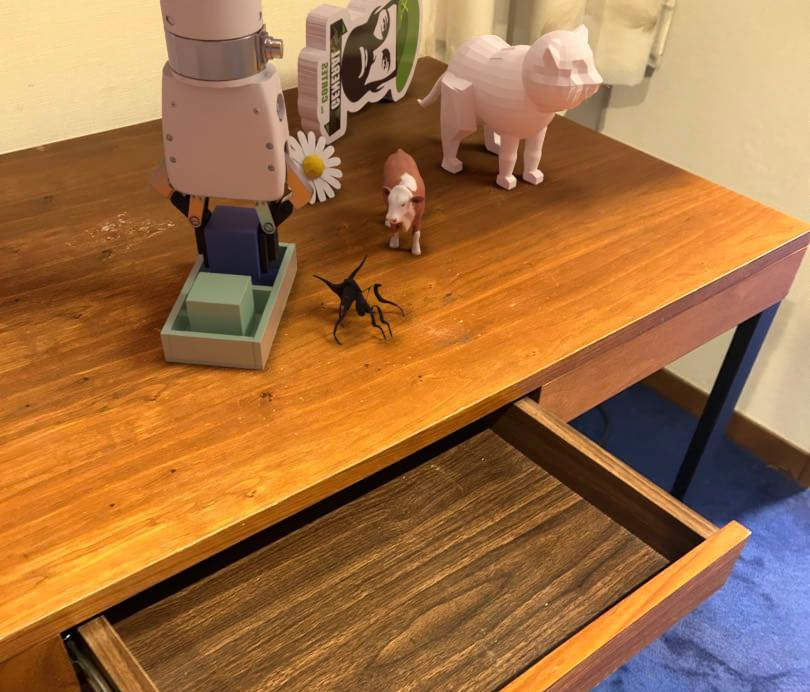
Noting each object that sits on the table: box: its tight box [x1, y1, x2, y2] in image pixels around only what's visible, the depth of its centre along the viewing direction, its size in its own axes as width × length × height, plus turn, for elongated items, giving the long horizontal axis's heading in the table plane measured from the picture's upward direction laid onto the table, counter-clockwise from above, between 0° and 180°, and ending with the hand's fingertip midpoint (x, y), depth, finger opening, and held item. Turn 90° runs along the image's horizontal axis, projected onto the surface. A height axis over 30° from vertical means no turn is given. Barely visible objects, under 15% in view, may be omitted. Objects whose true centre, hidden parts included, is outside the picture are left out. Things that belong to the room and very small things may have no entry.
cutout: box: [296, 0, 424, 146], centre depth 106 cm, size 15×3×25 cm
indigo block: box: [204, 204, 262, 280], centre depth 79 cm, size 5×5×5 cm
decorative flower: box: [287, 130, 343, 205], centre depth 95 cm, size 8×6×15 cm
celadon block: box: [186, 272, 256, 337], centre depth 75 cm, size 5×5×5 cm
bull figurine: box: [381, 148, 426, 256], centre depth 87 cm, size 4×13×8 cm, turn 0°
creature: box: [312, 253, 405, 346], centre depth 77 cm, size 8×5×8 cm
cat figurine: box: [416, 23, 609, 191], centre depth 95 cm, size 25×10×17 cm, turn 47°
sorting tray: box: [159, 241, 298, 371], centre depth 79 cm, size 9×16×3 cm, turn 175°
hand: (239, 261), depth 80 cm, fingers closed on indigo block, 4 cm apart
